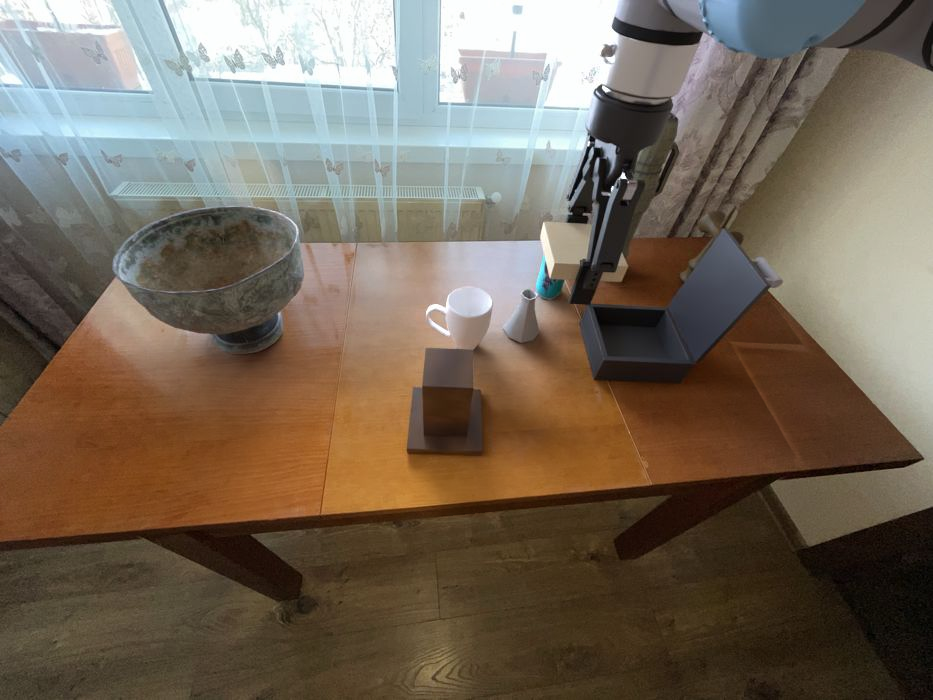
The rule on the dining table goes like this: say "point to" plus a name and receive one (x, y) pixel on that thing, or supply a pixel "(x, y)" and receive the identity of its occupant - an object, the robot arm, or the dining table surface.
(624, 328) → the open box
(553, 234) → the beige flat square block
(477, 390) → the stand
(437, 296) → the dining table surface
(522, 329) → the flask
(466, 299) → the mug
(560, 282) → the beverage can
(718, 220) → the kendama
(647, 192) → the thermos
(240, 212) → the decorative bowl
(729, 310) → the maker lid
